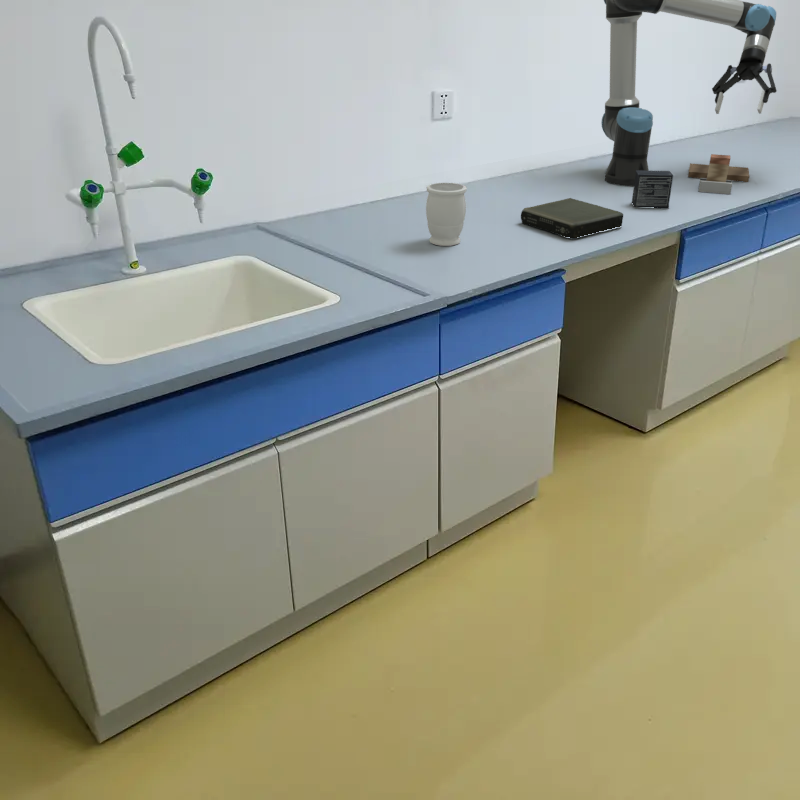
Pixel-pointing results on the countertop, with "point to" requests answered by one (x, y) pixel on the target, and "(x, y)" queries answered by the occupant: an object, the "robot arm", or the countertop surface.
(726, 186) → the frame
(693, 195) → the countertop surface
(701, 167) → the walnut board
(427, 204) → the jar
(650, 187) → the small box
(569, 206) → the network switch
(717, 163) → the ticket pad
